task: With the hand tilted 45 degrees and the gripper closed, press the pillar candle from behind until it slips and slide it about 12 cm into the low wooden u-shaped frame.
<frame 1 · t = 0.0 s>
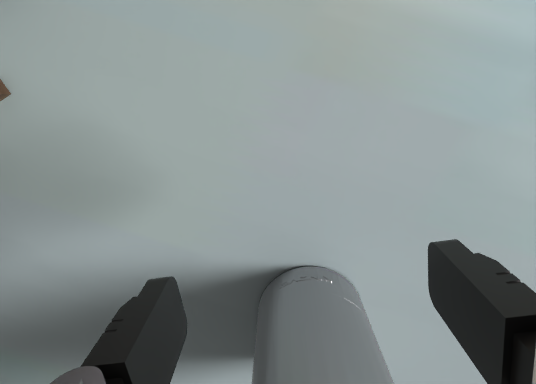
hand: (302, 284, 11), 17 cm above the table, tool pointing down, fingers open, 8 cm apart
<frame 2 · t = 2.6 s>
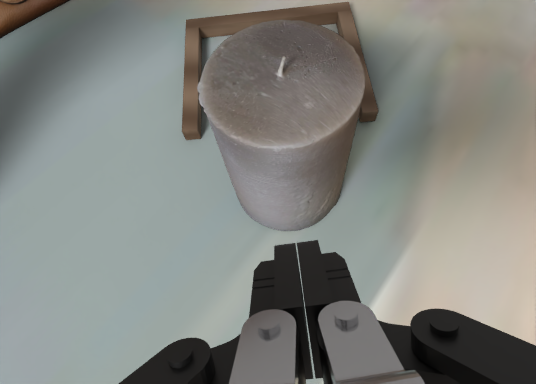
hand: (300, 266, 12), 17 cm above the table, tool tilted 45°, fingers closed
pillar candle: (286, 184, 32), on the table
wooden u-shaped frame: (274, 84, 37), on the table
sunglasses case: (28, 9, 47), on the table
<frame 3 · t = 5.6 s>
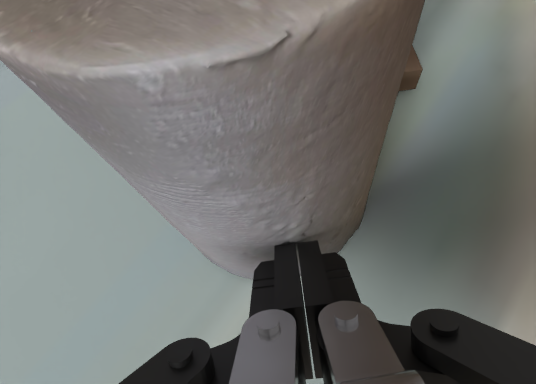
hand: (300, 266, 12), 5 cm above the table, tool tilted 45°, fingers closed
pillar candle: (268, 196, 19), on the table, touching gripper
wooden u-shaped frame: (250, 45, 24), on the table
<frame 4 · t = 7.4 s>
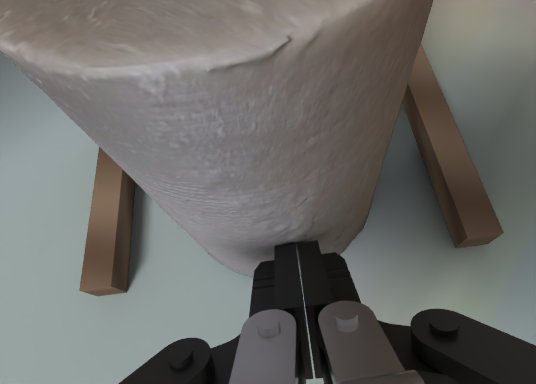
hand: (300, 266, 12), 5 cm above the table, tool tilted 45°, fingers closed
pillar candle: (273, 195, 19), on the table, touching gripper
wooden u-shaped frame: (272, 165, 19), on the table
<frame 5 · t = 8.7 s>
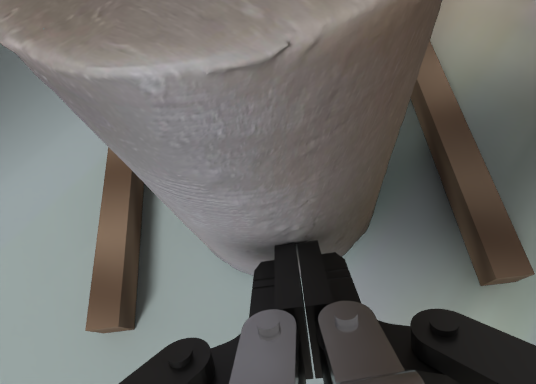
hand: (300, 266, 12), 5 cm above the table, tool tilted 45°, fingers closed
pillar candle: (278, 194, 19), on the table, touching gripper
wooden u-shaped frame: (285, 192, 19), on the table
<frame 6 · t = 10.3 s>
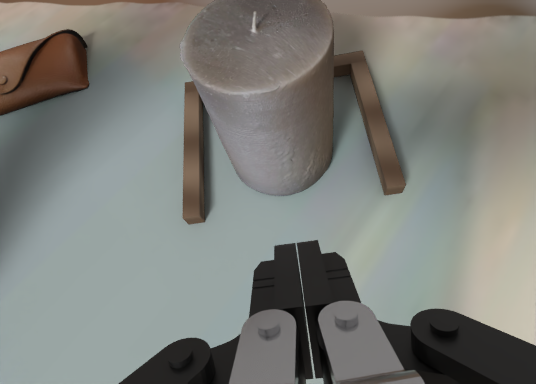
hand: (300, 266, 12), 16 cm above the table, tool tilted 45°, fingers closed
pillar candle: (280, 154, 34), on the table
wooden u-shaped frame: (284, 152, 33), on the table
sunglasses case: (25, 91, 44), on the table
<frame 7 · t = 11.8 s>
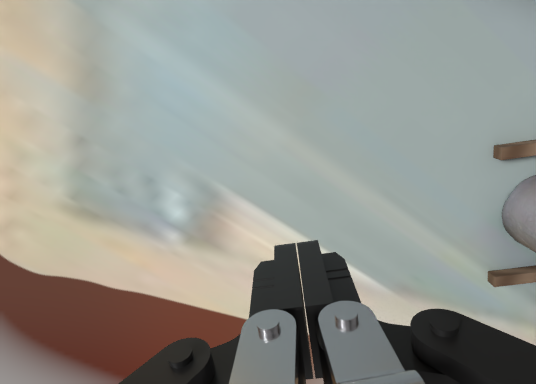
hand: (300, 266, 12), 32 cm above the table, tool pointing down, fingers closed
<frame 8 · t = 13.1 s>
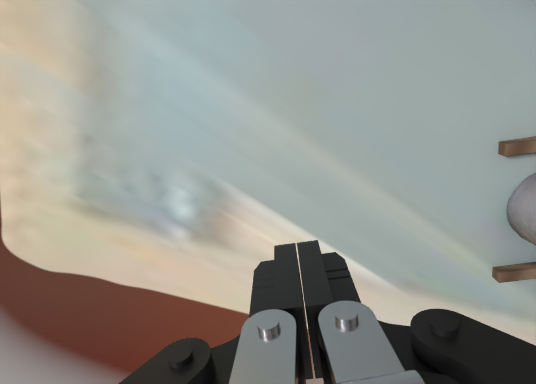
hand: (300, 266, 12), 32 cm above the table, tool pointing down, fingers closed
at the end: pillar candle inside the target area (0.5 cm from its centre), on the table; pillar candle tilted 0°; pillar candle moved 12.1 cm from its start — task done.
